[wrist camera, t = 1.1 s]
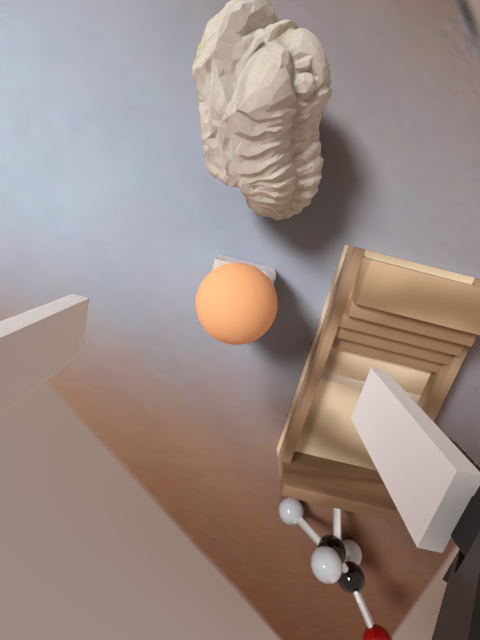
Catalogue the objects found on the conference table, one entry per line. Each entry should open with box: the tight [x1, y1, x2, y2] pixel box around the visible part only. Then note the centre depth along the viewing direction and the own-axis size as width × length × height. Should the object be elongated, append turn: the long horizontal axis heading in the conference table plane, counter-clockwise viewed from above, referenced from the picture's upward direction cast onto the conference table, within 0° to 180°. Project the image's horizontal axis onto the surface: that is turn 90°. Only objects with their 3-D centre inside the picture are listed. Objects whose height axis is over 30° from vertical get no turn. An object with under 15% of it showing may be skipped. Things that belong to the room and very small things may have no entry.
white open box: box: [212, 254, 276, 285], centre depth 29 cm, size 5×5×4 cm
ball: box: [196, 263, 278, 345], centre depth 24 cm, size 6×6×6 cm
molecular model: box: [279, 497, 392, 640], centre depth 33 cm, size 8×12×11 cm
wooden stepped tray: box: [277, 245, 480, 524], centre depth 29 cm, size 22×12×6 cm, turn 166°
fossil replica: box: [192, 0, 332, 220], centre depth 22 cm, size 12×8×10 cm
